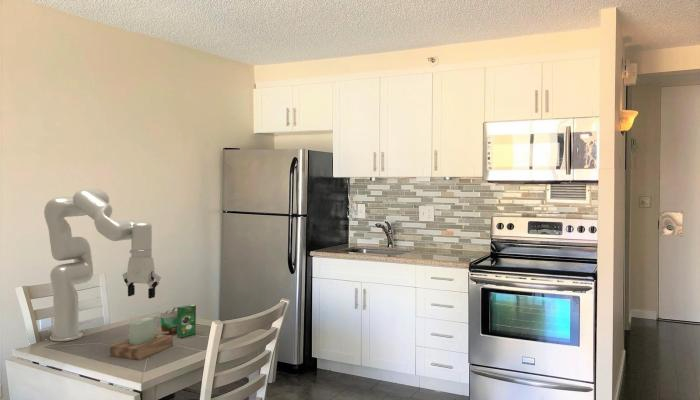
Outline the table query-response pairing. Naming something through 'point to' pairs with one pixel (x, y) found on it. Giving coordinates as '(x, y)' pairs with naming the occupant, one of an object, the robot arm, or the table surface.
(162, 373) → the table surface
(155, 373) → the table surface
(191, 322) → the coffee box
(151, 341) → the slotted block
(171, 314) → the food container
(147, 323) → the pale green upright block
